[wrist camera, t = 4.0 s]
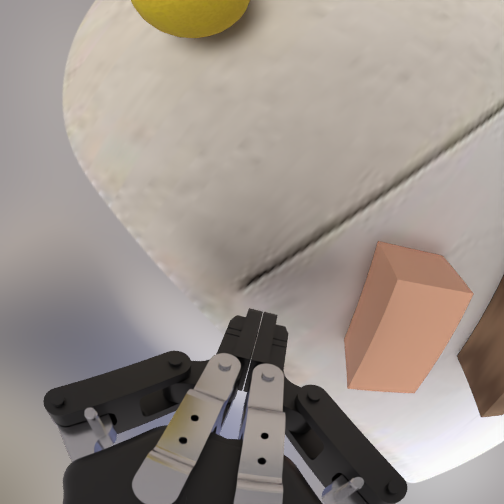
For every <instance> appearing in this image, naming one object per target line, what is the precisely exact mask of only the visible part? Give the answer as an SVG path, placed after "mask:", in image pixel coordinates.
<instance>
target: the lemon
mask: <svg viewBox="0 0 504 504" xmlns="http://www.w3.org/2000/svg"><path fill="white" fill-rule="evenodd" d="M131 2H132V4H133V6H134V7H135V9H136V10H137V11H138V13H139V14H140V15H141V17H142V18H143V19H144V20H145V21H146V22H148V23H149V24H151V25H152V26H154V27H155V28H157V29H158V30H160V31H162V32H164V33H167V34H171V35H174V36H177V37H185V38H200V37H207V36H211V35H214V34H217V33H220V32H222V31H224V30H225V29H227V28H229V27H231V26H232V25H233V24H234V23H235V22H237V21H238V20H239V19H240V17H241V16H242V15H243V14H244V12H245V11H246V9H247V6H248V4H249V2H250V0H131Z"/></svg>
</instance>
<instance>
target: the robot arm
mask: <svg viewBox="0 0 504 504" xmlns="http://www.w3.org/2000/svg"><path fill="white" fill-rule="evenodd" d="M262 313H263V312H262V311H258V310H254V309H250V308H249V310H248V313H247V316H246V317H242V316H238V315H237V316H235V317H234V318H233V319H232V320H230V323H229V325H228V328H227V330H226V333H225V335H224V337H223V340H222V342H221V345H220V347H219V349H218V352H217V354H216V355H214V356H213V357H212V358H211V359H210V360H207V361H191V360H190V358H189V357H188V356H187V355H186V354H185V353H183V352H179V351H170V352H166V353H163V354H161V355H158V356H155V357H152V358H149V359H147V360H144V361H141V362H138V363H135V364H132V365H129V366H126V367H123V368H120V369H117V370H114V371H111V372H108V373H105V374H102V375H98V376H95V377H92V378H89V379H86V380H82V381H78V382H75V383H72V384H68V385H65V386H61V387H58V388H54V389H51V390H50V391H48V393H46V395H45V397H44V406H45V408H46V410H47V412H48V413H49V415H50V416H51V419H52V420H53V422H54V423H55V425H56V426H57V427H58V429H59V431H60V434H61V437H62V439H63V442H64V445H65V447H66V449H67V452H68V454H69V456H70V459H71V461H72V463H71V464H70V465H69V466H68V467H67V469H66V471H65V473H64V477H63V489H64V499H63V504H322V503H321V501H320V500H319V498H318V497H317V495H316V494H315V493H314V491H313V490H312V488H311V487H310V485H309V484H308V483H307V481H306V480H305V478H304V477H303V475H302V474H301V472H300V471H299V469H298V468H297V467H296V465H295V464H294V463H293V462H292V461H291V460H290V459H289V458H288V457H286V456H285V455H284V437H285V435H286V436H287V437H288V439H289V440H290V442H291V443H292V445H293V446H294V447H295V449H296V450H297V451H298V453H299V454H300V455H301V457H302V458H303V460H304V461H305V462H306V464H307V465H308V466H309V468H310V469H311V470H312V472H314V474H315V475H316V477H317V478H318V479H319V481H321V483H322V484H323V486H324V487H325V489H324V491H323V492H322V500H323V502H324V504H395V503H397V502H399V501H400V500H401V499H403V498H404V496H405V495H406V492H407V484H406V481H405V480H404V478H403V477H402V476H401V475H400V474H399V473H398V472H397V471H396V470H395V469H394V468H393V467H392V466H391V464H390V463H389V462H388V461H387V460H386V459H385V458H384V457H383V456H382V455H381V454H380V452H379V451H378V450H377V449H376V448H375V447H374V446H373V445H372V444H371V443H370V441H369V440H368V439H367V438H366V437H365V436H364V435H363V434H362V432H361V431H360V430H359V429H358V428H357V427H356V426H355V425H354V423H353V422H352V421H351V420H350V419H349V418H348V417H347V415H346V414H345V413H344V412H343V411H342V410H341V409H340V407H339V406H338V405H337V404H336V403H335V402H334V401H333V399H332V398H331V397H330V396H329V395H328V394H327V392H326V391H325V390H324V389H322V388H321V387H319V386H316V385H306V386H303V387H302V388H301V387H299V386H297V385H295V384H293V383H291V382H290V381H289V380H288V379H287V378H286V377H285V375H284V371H283V369H284V362H285V355H286V347H287V340H288V332H287V330H286V327H284V326H280V325H276V320H277V315H275V314H271V313H267V312H264V314H263V317H262ZM261 317H262V321H261ZM260 321H261V325H260ZM259 326H260V329H259ZM258 330H259V333H258ZM257 334H258V336H257ZM256 338H257V340H256ZM255 342H256V344H255ZM254 346H255V348H254ZM253 349H254V351H253ZM252 353H253V355H252ZM251 357H252V359H251ZM250 360H251V363H250ZM249 364H250V367H249ZM248 368H249V371H248ZM247 371H248V375H247V379H246V383H245V387H244V391H245V392H247V395H246V399H245V403H244V407H243V413H242V418H241V424H240V430H239V436H238V439H226V438H224V437H222V436H220V432H221V430H222V427H223V425H224V423H225V420H226V418H227V415H228V413H229V411H230V408H231V406H232V403H233V400H234V399H235V397H236V394H237V391H238V390H241V391H242V389H243V385H244V382H245V378H246V374H247ZM176 410H177V411H176ZM174 411H176V413H175V414H174V416H173V418H172V419H171V421H170V423H169V424H168V425H167V426H160V427H156V428H153V429H151V430H149V431H147V432H144V433H142V434H140V435H138V436H135V437H133V438H131V439H128V440H126V441H123V442H121V443H118V444H116V445H113V444H114V443H115V441H116V439H117V434H119V433H122V432H124V431H126V430H130V429H132V428H135V427H137V426H140V425H143V424H145V423H148V422H150V421H153V420H155V419H157V418H160V417H162V416H164V415H167V414H169V413H171V412H174ZM112 445H113V446H112ZM110 446H111V447H110Z"/></svg>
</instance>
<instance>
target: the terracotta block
mask: <svg viewBox="0 0 504 504" xmlns="http://www.w3.org/2000/svg"><path fill="white" fill-rule="evenodd" d="M472 296H473V293H472V291H471V290H470V289H469V287H468V286H467V285H466V284H465V282H464V281H463V280H462V278H461V277H460V276H459V275H458V274H457V272H456V271H455V270H454V269H453V267H452V266H451V265H450V264H449V263H448V262H447V260H446V259H445V258H444V257H443V256H441V255H437V254H433V253H428V252H424V251H420V250H415V249H411V248H406V247H402V246H397V245H393V244H388V243H384V242H379V241H378V243H377V247H376V250H375V253H374V257H373V260H372V263H371V266H370V269H369V273H368V276H367V279H366V282H365V285H364V288H363V290H362V293H361V296H360V299H359V302H358V305H357V307H356V310H355V313H354V315H353V318H352V321H351V323H350V326H349V328H348V331H347V333H346V336H345V338H344V343H345V355H346V369H347V387H348V389H358V390H369V391H382V392H398V393H415V392H416V390H417V389H418V388H419V386H420V385H421V383H422V382H423V381H424V379H425V378H426V376H427V375H428V373H429V372H430V370H431V369H432V367H433V366H434V364H435V363H436V361H437V360H438V358H439V356H440V355H441V353H442V352H443V350H444V348H445V347H446V345H447V343H448V342H449V340H450V338H451V336H452V335H453V333H454V331H455V329H456V327H457V326H458V324H459V322H460V320H461V318H462V316H463V314H464V312H465V310H466V308H467V306H468V304H469V302H470V300H471V298H472Z"/></svg>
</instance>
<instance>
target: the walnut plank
mask: <svg viewBox="0 0 504 504" xmlns="http://www.w3.org/2000/svg"><path fill="white" fill-rule="evenodd" d="M457 357H458V360H459V362H460V364H461V366H462V369H463V371H464V374H465V376H466V378H467V381H468V383H469V386H470V388H471V391H472V394H473V396H474V399H475V402H476V404H477V407H478V410H479V413H480V416H481V417H489V416H498V415H503V414H504V276H503V278H502V280H501V282H500V284H499V286H498V288H497V290H496V292H495V294H494V296H493V298H492V300H491V302H490V304H489V305H488V307H487V309H486V311H485V313H484V314H483V316H482V318H481V320H480V321H479V323H478V325H477V326H476V328H475V330H474V331H473V333H472V334H471V336H470V338H469V339H468V341H467V342H466V344H465V345H464V347H463V348H462V350H461V351H460V353H459V354H458V355H457Z"/></svg>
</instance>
